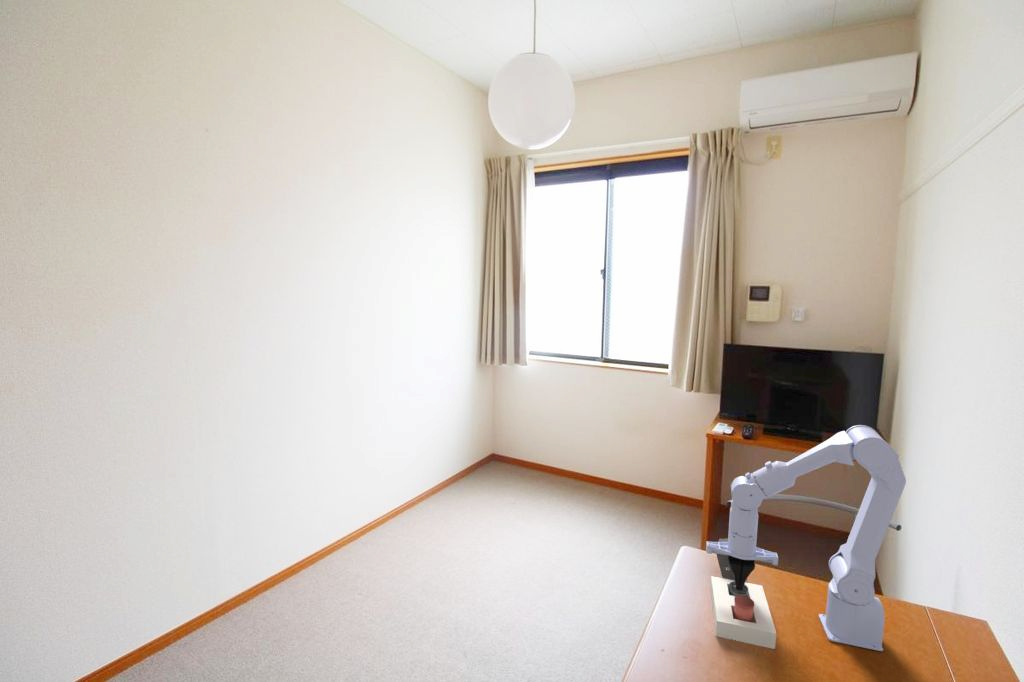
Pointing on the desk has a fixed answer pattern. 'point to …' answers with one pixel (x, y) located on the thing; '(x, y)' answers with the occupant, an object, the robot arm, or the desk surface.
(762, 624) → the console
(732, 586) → the graphite plug
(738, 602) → the red plug
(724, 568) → the electrical switch
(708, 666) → the desk surface
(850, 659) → the desk surface
